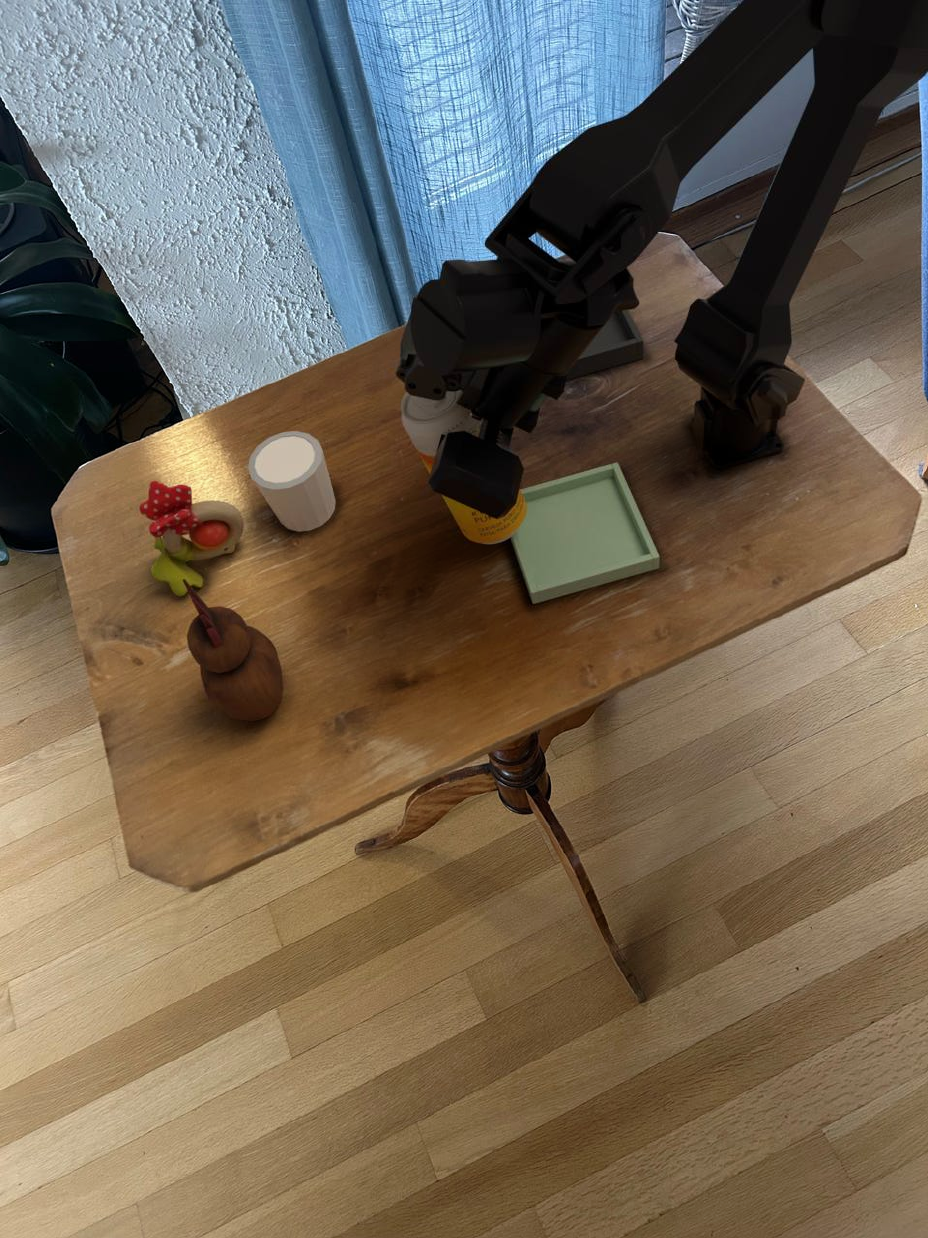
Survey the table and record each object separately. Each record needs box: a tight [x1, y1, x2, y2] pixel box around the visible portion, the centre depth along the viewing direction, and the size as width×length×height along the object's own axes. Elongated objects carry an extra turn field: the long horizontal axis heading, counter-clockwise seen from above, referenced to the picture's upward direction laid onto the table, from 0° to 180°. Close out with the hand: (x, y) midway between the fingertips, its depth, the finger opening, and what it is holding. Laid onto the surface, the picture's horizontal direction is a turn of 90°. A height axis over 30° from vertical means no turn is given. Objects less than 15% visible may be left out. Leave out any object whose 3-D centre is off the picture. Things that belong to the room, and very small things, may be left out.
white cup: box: [247, 430, 336, 533], centre depth 91 cm, size 7×7×7 cm
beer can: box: [400, 390, 527, 545], centre depth 81 cm, size 6×6×15 cm
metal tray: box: [566, 310, 644, 381], centre depth 100 cm, size 11×10×2 cm
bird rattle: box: [139, 480, 245, 597], centre depth 88 cm, size 6×11×9 cm
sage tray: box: [509, 462, 660, 605], centre depth 87 cm, size 11×11×2 cm
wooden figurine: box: [183, 579, 284, 722], centre depth 77 cm, size 7×6×15 cm
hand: (451, 463), depth 81 cm, fingers closed on beer can, 6 cm apart
